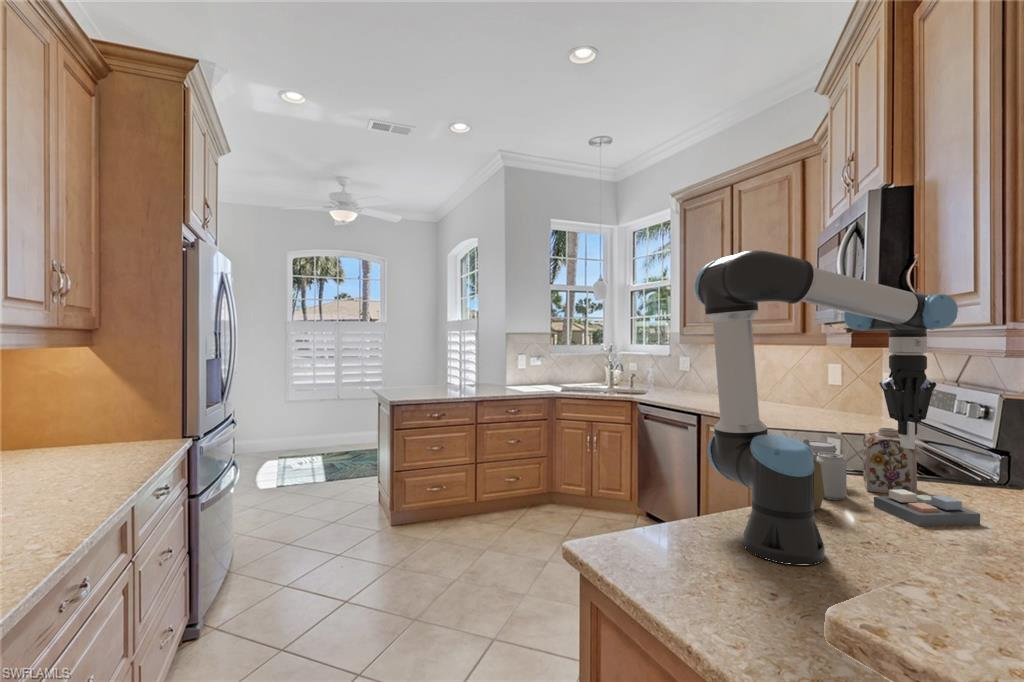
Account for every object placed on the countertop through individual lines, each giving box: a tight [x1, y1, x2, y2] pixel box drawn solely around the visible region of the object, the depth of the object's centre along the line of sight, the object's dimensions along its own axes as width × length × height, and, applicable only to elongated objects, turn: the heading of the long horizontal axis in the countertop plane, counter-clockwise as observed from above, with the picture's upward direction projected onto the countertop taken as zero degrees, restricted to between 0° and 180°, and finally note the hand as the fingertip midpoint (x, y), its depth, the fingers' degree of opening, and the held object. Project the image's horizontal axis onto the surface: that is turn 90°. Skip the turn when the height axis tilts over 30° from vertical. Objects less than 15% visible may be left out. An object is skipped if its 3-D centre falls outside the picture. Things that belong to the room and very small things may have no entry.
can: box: [816, 452, 848, 501], centre depth 140 cm, size 8×8×12 cm
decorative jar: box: [862, 427, 918, 495], centre depth 146 cm, size 12×12×18 cm
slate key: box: [930, 495, 963, 512], centre depth 122 cm, size 4×4×3 cm
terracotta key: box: [908, 503, 938, 513], centre depth 121 cm, size 4×4×3 cm
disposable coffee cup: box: [809, 440, 838, 456], centre depth 154 cm, size 10×10×12 cm
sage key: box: [917, 494, 932, 504], centre depth 128 cm, size 4×4×3 cm
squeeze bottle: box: [802, 438, 825, 511], centre depth 132 cm, size 8×8×18 cm
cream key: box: [888, 489, 918, 504], centre depth 127 cm, size 4×4×3 cm
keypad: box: [873, 494, 981, 527], centre depth 124 cm, size 15×14×3 cm
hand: (907, 447), depth 125 cm, fingers closed
